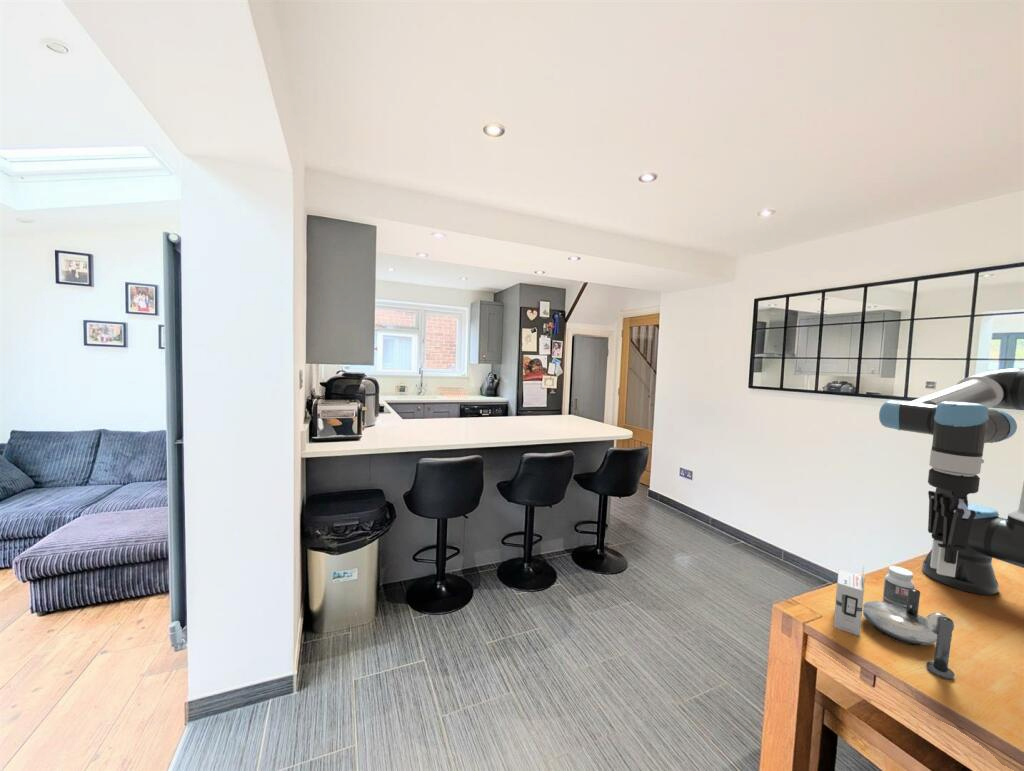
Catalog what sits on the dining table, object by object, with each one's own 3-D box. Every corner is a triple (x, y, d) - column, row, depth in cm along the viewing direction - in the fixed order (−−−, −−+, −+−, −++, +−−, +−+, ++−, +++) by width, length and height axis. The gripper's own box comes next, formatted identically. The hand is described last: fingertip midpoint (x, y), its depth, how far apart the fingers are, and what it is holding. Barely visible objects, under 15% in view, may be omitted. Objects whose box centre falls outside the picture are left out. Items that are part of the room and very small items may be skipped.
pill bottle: (916, 615, 102) (920, 578, 101) (887, 608, 104) (890, 573, 103) (906, 602, 107) (910, 568, 106) (879, 596, 109) (882, 562, 108)
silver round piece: (897, 606, 102) (900, 579, 101) (955, 644, 89) (958, 613, 88) (848, 606, 101) (851, 579, 101) (899, 644, 89) (902, 613, 88)
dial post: (960, 681, 81) (967, 626, 80) (935, 677, 82) (941, 623, 81) (944, 666, 85) (950, 614, 84) (920, 662, 86) (926, 610, 85)
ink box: (834, 610, 103) (838, 557, 102) (859, 618, 100) (864, 564, 98) (833, 627, 96) (838, 571, 95) (860, 637, 93) (866, 579, 92)
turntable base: (897, 619, 100) (897, 612, 100) (935, 645, 91) (936, 638, 91) (862, 619, 100) (863, 612, 100) (897, 645, 91) (898, 638, 91)
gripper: (1001, 484, 78) (987, 594, 80) (958, 464, 92) (946, 560, 94) (949, 478, 82) (936, 584, 84) (915, 460, 95) (905, 552, 97)
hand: (942, 571), depth 89 cm, fingers open, 2 cm apart
